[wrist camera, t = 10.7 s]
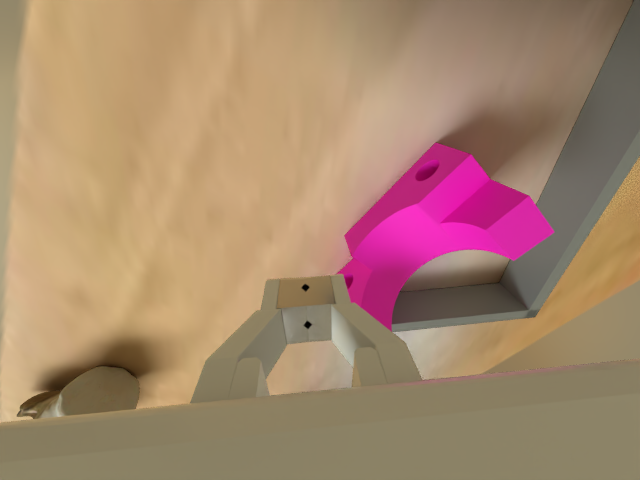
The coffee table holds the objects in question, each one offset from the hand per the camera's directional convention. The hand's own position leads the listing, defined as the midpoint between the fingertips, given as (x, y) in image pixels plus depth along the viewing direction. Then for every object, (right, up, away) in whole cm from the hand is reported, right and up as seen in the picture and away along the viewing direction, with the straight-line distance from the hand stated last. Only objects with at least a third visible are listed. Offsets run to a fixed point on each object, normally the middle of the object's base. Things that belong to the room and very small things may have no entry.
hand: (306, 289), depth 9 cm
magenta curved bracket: (+7, +3, +13) cm, 15 cm away
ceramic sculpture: (-28, -17, +21) cm, 39 cm away
